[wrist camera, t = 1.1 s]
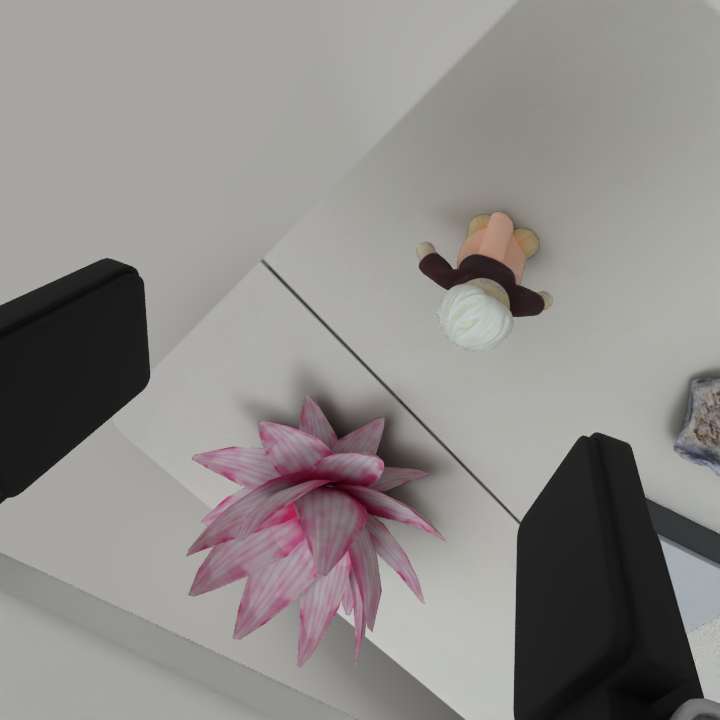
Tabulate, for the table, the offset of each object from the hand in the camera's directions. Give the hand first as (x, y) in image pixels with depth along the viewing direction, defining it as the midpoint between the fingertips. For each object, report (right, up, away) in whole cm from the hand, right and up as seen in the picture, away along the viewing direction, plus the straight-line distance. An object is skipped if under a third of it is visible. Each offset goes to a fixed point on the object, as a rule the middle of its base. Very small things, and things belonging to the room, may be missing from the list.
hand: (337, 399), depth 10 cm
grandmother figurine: (+9, +9, +20) cm, 24 cm away
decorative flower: (-1, -9, +35) cm, 36 cm away
